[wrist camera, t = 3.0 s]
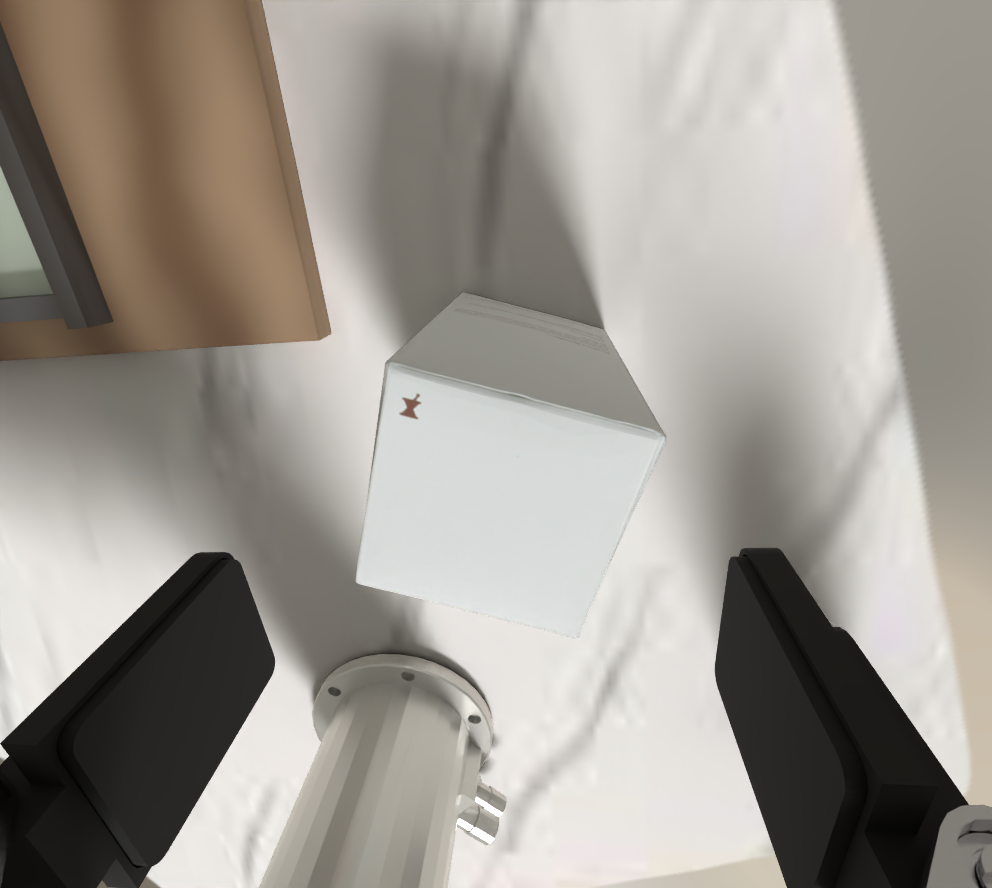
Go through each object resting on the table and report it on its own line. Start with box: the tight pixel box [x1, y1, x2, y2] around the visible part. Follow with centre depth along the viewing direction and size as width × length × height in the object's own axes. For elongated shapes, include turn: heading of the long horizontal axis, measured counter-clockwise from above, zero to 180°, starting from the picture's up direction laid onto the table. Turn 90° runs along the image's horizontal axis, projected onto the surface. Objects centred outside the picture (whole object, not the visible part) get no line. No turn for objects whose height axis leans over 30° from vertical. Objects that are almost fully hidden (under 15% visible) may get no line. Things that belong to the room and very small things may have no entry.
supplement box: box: [355, 292, 666, 638], centre depth 19 cm, size 7×7×13 cm
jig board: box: [0, 0, 331, 361], centre depth 22 cm, size 22×16×3 cm
